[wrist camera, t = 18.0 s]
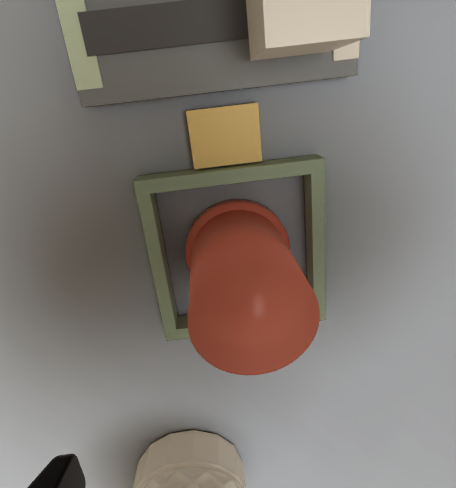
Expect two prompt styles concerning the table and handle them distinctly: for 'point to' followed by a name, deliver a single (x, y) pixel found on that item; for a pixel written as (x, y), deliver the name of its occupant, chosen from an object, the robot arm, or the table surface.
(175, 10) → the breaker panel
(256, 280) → the cap
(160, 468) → the white cup
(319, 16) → the toggle
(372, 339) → the table surface
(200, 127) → the frame
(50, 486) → the robot arm
